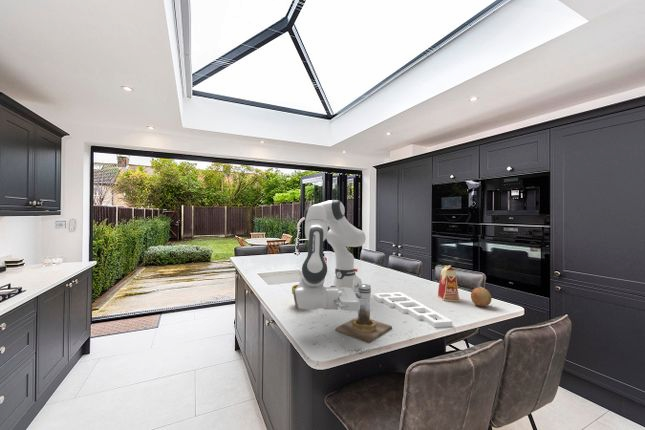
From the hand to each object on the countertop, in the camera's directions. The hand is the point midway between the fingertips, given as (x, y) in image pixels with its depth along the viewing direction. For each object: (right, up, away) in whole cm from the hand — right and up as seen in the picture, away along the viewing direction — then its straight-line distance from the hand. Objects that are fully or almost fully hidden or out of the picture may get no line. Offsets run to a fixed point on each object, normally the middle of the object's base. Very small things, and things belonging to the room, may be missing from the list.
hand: (366, 298), depth 115 cm
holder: (+25, -14, +25) cm, 38 cm away
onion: (+66, -14, +33) cm, 75 cm away
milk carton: (+54, -14, +45) cm, 72 cm away
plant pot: (-29, -13, +29) cm, 43 cm away
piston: (-1, -9, 0) cm, 9 cm away
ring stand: (-1, -13, 0) cm, 13 cm away
